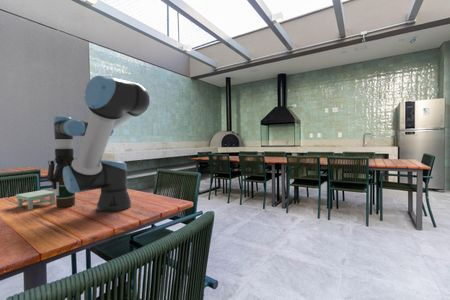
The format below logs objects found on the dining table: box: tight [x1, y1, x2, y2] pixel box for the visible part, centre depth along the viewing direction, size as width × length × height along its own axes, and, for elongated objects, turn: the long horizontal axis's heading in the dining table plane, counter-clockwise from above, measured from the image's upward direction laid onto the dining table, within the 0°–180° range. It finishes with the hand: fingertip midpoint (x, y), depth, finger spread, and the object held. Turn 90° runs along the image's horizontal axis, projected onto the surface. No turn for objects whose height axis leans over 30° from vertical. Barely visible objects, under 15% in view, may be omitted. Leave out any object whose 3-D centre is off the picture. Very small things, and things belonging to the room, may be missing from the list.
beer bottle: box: [55, 158, 76, 209], centre depth 115 cm, size 8×8×24 cm
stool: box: [14, 189, 56, 211], centre depth 116 cm, size 12×12×6 cm
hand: (65, 193), depth 115 cm, fingers closed on beer bottle, 7 cm apart
